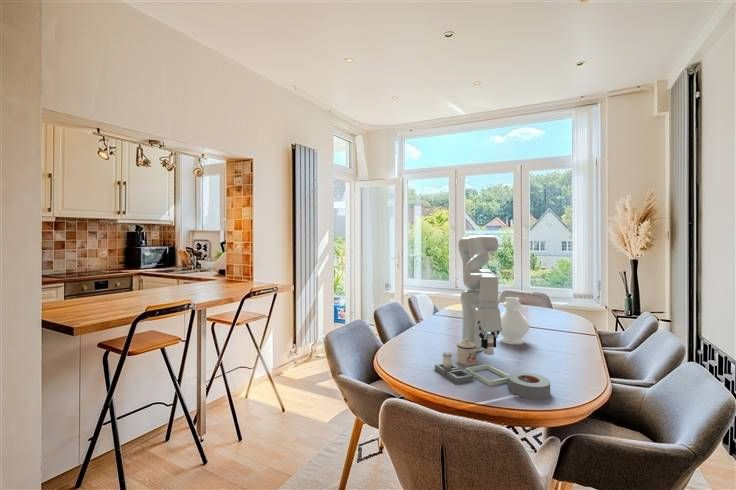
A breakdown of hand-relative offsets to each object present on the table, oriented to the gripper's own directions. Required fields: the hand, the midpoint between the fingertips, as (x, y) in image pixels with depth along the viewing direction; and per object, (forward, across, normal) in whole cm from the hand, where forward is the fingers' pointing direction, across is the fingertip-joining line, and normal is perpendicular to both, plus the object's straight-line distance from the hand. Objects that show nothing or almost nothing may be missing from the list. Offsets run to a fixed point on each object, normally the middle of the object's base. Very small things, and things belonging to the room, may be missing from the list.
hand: (488, 346), depth 153 cm
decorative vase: (+13, -49, -38) cm, 64 cm away
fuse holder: (+13, +13, -7) cm, 20 cm away
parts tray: (+13, 0, 0) cm, 13 cm away
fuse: (+13, +13, -12) cm, 22 cm away
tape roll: (+14, -6, +16) cm, 22 cm away
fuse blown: (+3, 0, 0) cm, 3 cm away
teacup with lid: (+14, -4, -19) cm, 24 cm away
